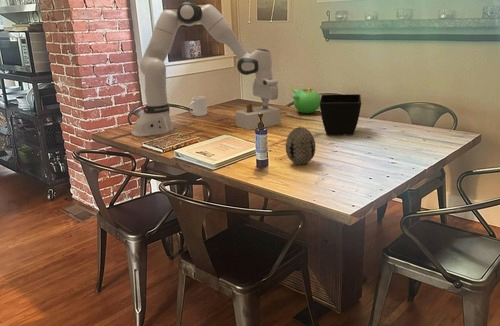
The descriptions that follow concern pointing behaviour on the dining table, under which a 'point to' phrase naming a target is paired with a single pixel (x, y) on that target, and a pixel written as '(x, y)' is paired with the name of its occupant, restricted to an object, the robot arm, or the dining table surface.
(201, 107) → the mug
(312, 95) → the green teapot
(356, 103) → the flower pot
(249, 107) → the walnut plug
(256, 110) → the socket block
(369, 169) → the dining table surface
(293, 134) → the decorative egg
